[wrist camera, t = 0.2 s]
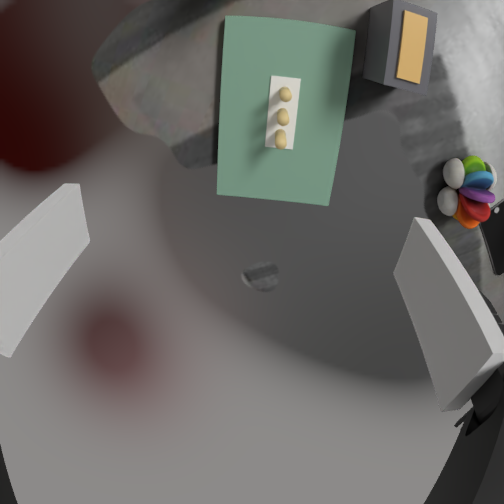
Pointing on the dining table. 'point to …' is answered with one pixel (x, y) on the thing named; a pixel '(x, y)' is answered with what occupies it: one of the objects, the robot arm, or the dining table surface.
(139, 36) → the dining table surface
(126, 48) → the dining table surface
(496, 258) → the smartphone
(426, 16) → the plug housing
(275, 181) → the header board
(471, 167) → the rainbow wheeled toy
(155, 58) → the dining table surface
